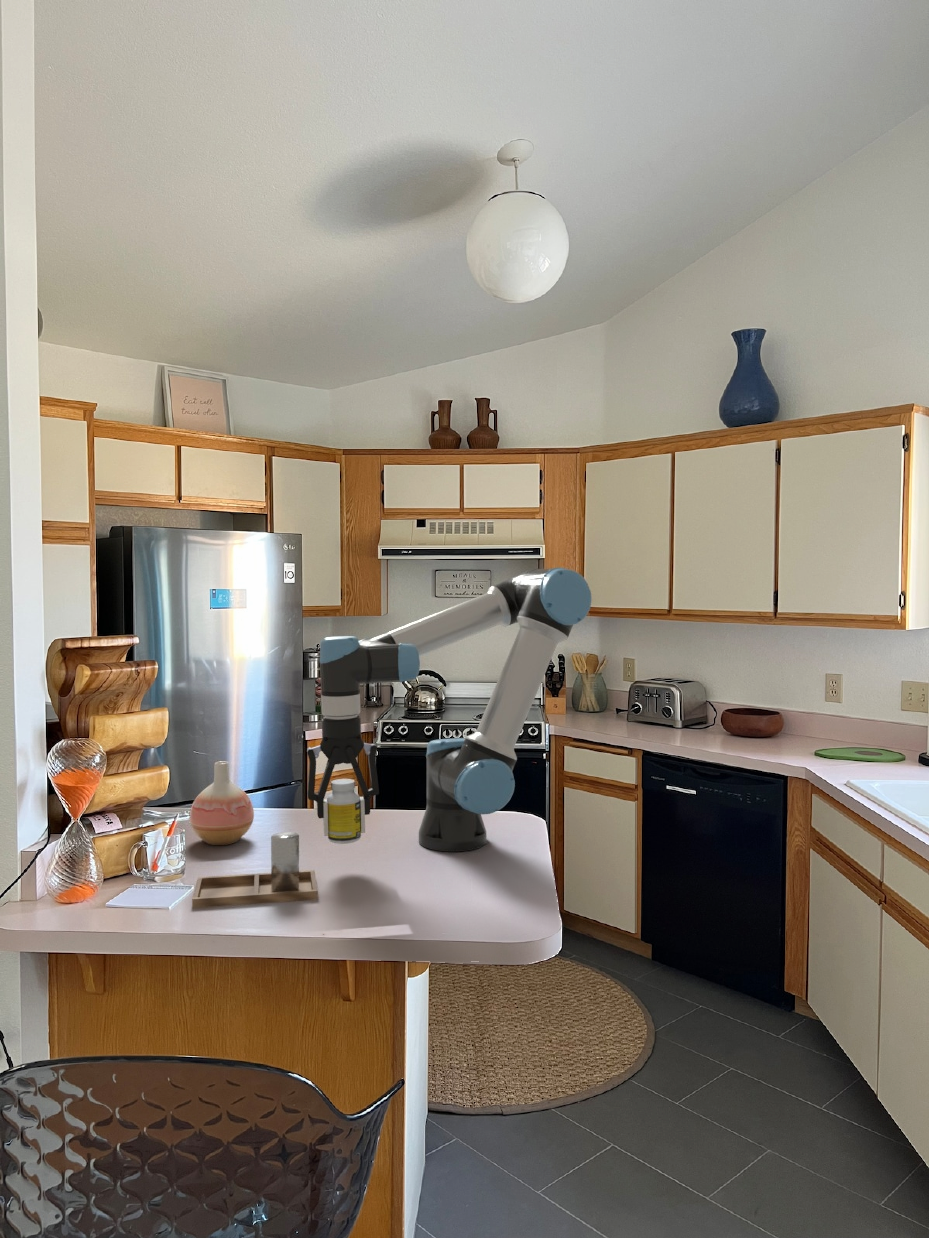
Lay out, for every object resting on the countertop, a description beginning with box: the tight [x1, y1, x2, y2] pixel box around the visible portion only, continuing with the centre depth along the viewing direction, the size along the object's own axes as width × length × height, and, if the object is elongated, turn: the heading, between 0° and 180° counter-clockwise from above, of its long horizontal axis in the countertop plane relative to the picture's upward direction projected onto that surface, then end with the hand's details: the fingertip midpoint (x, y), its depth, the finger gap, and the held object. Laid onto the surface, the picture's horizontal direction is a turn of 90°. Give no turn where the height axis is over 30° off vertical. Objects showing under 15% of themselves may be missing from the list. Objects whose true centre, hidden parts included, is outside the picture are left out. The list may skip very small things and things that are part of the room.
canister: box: [270, 831, 300, 892], centre depth 162 cm, size 5×5×10 cm
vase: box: [189, 760, 255, 846], centre depth 196 cm, size 14×14×18 cm
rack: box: [191, 869, 319, 909], centre depth 161 cm, size 21×12×3 cm, turn 102°
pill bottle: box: [326, 778, 362, 845], centre depth 174 cm, size 6×6×12 cm
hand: (344, 832), depth 174 cm, fingers closed on pill bottle, 6 cm apart
